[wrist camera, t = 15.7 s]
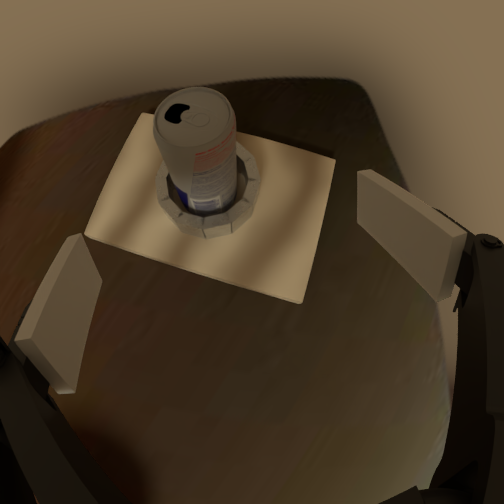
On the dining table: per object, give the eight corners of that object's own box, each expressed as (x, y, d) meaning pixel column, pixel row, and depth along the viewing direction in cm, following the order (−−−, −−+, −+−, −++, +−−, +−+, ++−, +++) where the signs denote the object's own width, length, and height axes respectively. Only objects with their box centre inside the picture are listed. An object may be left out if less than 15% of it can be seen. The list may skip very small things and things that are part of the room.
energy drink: (196, 161, 30) (176, 77, 18) (245, 179, 30) (249, 96, 18) (171, 207, 29) (134, 136, 17) (222, 228, 28) (212, 162, 17)
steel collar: (149, 222, 28) (140, 211, 25) (183, 144, 30) (178, 127, 27) (241, 250, 28) (241, 241, 25) (268, 165, 30) (270, 149, 27)
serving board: (90, 238, 29) (84, 234, 28) (145, 120, 33) (142, 112, 31) (299, 303, 29) (302, 302, 27) (331, 166, 32) (335, 159, 31)
